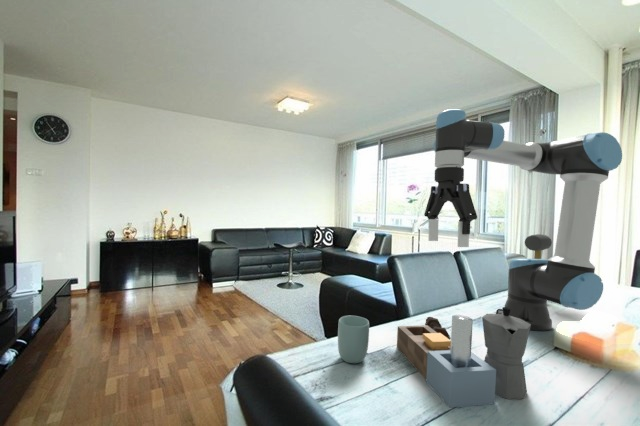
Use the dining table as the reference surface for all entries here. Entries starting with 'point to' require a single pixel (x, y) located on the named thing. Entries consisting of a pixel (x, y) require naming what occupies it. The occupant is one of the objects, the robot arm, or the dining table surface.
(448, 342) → the release button
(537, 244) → the rubber mallet
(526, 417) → the dining table surface
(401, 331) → the socket block
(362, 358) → the cup
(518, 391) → the coffeepot
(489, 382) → the block
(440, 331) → the bolt
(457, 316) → the brushed steel rod
